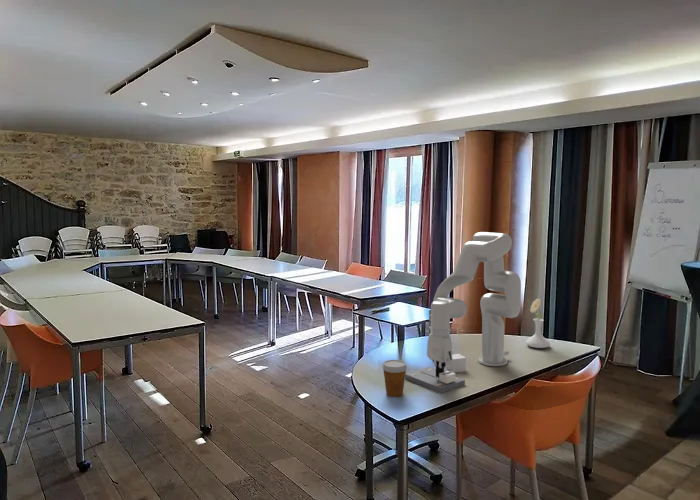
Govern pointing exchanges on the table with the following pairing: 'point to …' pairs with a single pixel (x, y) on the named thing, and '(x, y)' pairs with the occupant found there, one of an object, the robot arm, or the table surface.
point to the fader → (447, 377)
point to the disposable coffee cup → (394, 377)
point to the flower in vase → (537, 329)
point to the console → (432, 380)
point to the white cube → (457, 363)
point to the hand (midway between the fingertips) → (439, 376)
